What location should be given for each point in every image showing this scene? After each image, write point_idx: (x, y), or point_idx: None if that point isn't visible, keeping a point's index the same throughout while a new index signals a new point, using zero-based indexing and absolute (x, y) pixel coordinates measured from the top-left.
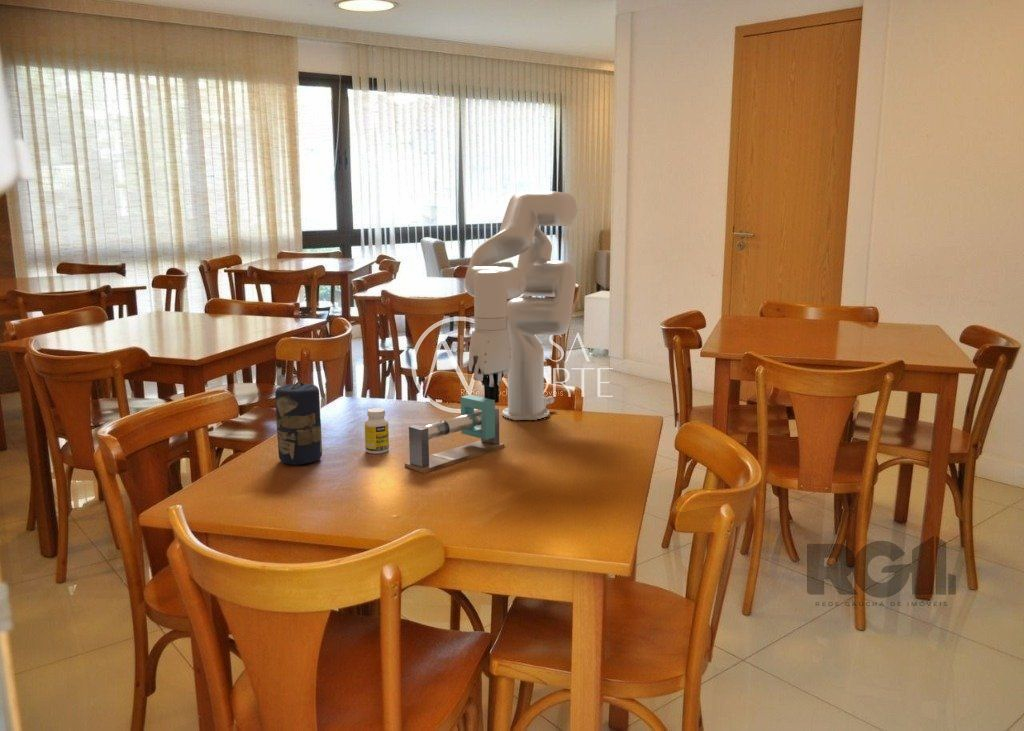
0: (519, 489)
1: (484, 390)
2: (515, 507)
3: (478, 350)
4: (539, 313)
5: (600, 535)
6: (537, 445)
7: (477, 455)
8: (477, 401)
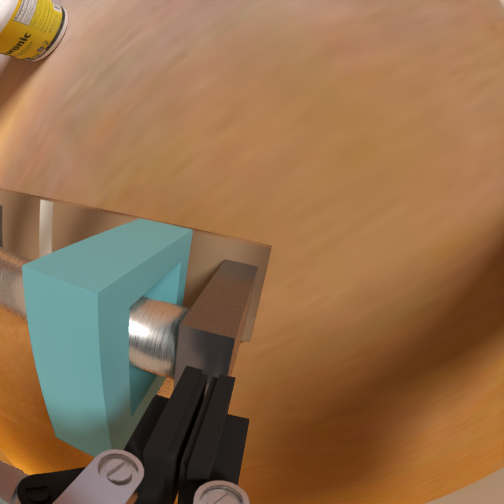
0: None
1: (159, 418)
2: (30, 435)
3: None
4: None
5: None
6: (317, 403)
7: None
8: (45, 396)
